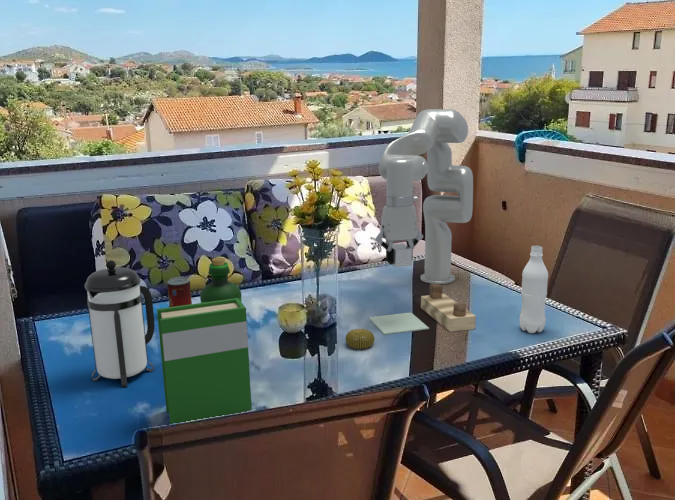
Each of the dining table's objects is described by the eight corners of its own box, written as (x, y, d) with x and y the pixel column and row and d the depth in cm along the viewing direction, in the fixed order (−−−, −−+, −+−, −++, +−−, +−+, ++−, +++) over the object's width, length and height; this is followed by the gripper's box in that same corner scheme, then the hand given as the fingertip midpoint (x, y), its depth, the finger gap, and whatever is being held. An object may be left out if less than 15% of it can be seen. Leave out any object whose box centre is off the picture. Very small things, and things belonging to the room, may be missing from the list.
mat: (368, 318, 193) (368, 317, 193) (411, 313, 197) (411, 312, 197) (384, 334, 180) (384, 333, 180) (428, 329, 184) (428, 327, 184)
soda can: (168, 313, 201) (165, 277, 198) (190, 310, 203) (188, 274, 200) (171, 321, 194) (168, 283, 191) (194, 317, 197) (191, 280, 194)
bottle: (226, 374, 157) (219, 266, 150) (195, 365, 162) (187, 261, 155) (254, 358, 166) (248, 256, 159) (223, 350, 171) (217, 252, 164)
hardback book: (170, 426, 133) (160, 320, 127) (166, 410, 139) (156, 309, 133) (251, 409, 139) (245, 308, 133) (243, 395, 145) (238, 297, 140)
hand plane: (420, 307, 202) (421, 284, 200) (443, 305, 204) (444, 281, 202) (450, 331, 181) (451, 305, 179) (475, 328, 183) (476, 303, 181)
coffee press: (158, 382, 153) (147, 265, 145) (89, 392, 148) (73, 271, 141) (157, 355, 169) (147, 248, 161) (94, 363, 164) (81, 253, 157)
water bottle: (547, 334, 178) (553, 249, 172) (522, 334, 178) (527, 250, 172) (540, 325, 185) (545, 243, 179) (516, 325, 185) (520, 244, 179)
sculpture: (341, 329, 175) (367, 325, 177) (341, 342, 176) (367, 338, 178) (351, 339, 167) (378, 334, 170) (351, 353, 168) (379, 348, 171)
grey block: (387, 260, 187) (387, 244, 185) (402, 259, 188) (403, 243, 187) (395, 267, 180) (395, 250, 179) (411, 265, 181) (411, 248, 180)
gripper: (421, 197, 185) (421, 256, 190) (367, 201, 181) (367, 261, 185) (432, 201, 178) (431, 263, 183) (375, 205, 174) (376, 268, 178)
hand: (399, 261), depth 184 cm, fingers closed on grey block, 5 cm apart
